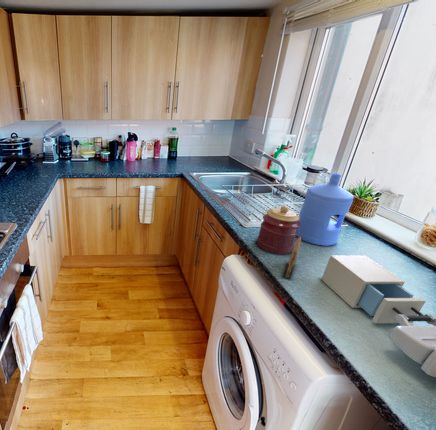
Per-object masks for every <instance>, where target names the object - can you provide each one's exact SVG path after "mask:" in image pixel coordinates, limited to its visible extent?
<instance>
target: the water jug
mask: <svg viewBox="0 0 436 430" xmlns="http://www.w3.org/2000/svg"><path fill="white" fill-rule="evenodd" d="M341 178H342V174H338V173H331V176H330V178H329V181H328V183H324V184H317V185H312V186H309V187H308V188H307V190H306V192H305V195H304V199H303V204H302V207H301V209H300V211H299V214H298V216H299V217H300V219H299V220H298V221H299V222H300V226H299V227H298V228H297V230H298V234H297V235H296V237H297V238H299V237H300V236H301V241H302V240H303V241H305V242H307V243H310V244H313V245H317V246H324V247H327V246H328V247H329V246H333V245H335V244H337V242H338V241H339V236H340V234H341V231H342V229H343V227H342V225H343V223H344V220H345V217H346V215H347V214H348V213H349V211H350V209H351V207H352V205H353V201H354V199H355V198H354V195H353V193H351V192H349V190H346V189H344V188H342V187H341V186H340V185H339V183H340V181H341ZM335 215H337V216H338V218H337V221H335V220H333V219H332V217H333V216H335Z"/></svg>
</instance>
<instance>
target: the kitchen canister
mask: <svg viewBox="0 0 436 430" xmlns="http://www.w3.org/2000/svg"><path fill="white" fill-rule="evenodd" d="M262 219H263V220H262V222H261V223H260V228H259V232H258V235H257V238H256V244H257V246H258V247H259V248H261V249H263V250H264V251H266V252H269V253H272V254H277V255H287V254H289V253H292V251H293V249H294V245H295V241H296V238H297V234H298V230H297V228H298V227H299V226H300V222H299V221H298V220H299V219H300V217H299V214H297V213H296V212H295V211H293V210H291V209H289V207H288V206H287V205H283V206H281V207H273V208H269V209H267V210H266V213H265V214H263V215H262Z"/></svg>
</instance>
